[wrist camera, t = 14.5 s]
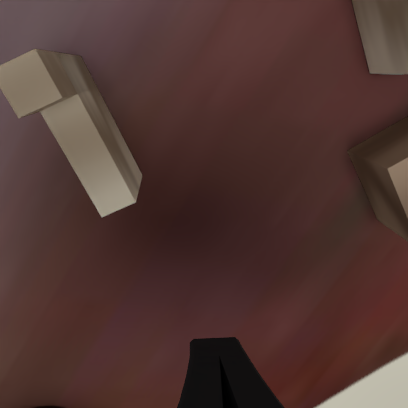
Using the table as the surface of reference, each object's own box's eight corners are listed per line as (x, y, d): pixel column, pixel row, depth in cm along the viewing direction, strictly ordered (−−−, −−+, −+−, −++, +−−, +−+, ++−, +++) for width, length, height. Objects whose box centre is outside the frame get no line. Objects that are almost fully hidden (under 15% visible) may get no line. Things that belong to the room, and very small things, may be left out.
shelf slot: (50, 70, 16) (-11, 70, 11) (368, -81, 16) (481, -165, 10) (115, 187, 19) (92, 238, 13) (399, 60, 18) (506, 55, 12)
